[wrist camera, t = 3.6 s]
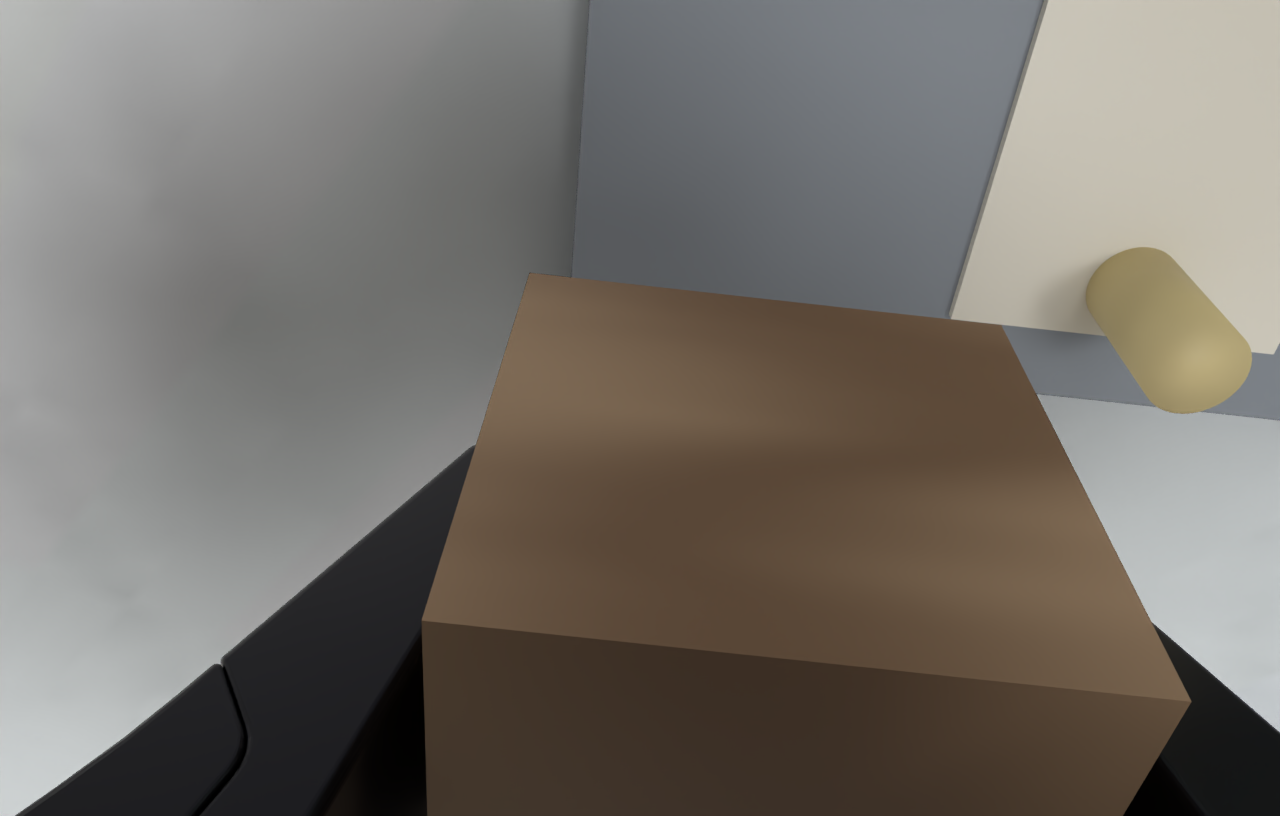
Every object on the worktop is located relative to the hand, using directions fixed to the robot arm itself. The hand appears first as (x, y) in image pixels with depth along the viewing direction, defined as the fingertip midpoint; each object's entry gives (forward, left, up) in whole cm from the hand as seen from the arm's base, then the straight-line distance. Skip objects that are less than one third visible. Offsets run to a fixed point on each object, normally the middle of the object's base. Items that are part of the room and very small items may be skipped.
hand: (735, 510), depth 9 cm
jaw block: (0, 0, 0) cm, 0 cm away
